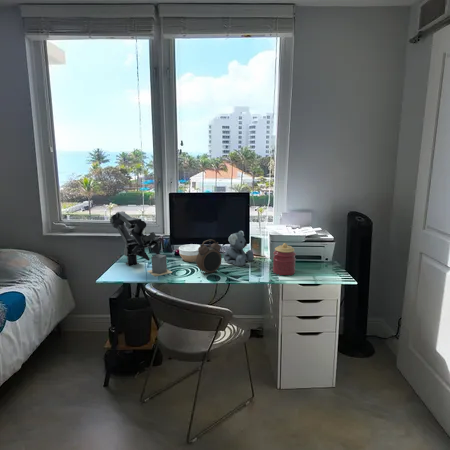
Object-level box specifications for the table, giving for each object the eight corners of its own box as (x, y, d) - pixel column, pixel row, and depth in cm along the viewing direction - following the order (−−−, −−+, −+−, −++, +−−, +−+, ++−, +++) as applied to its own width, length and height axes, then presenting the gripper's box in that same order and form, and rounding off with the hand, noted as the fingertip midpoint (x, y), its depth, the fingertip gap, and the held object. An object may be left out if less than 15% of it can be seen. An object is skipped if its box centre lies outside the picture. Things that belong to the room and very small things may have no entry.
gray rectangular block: (152, 272, 203) (151, 256, 201) (159, 269, 208) (158, 253, 206) (160, 274, 200) (159, 258, 198) (166, 271, 206) (166, 255, 203)
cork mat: (146, 271, 206) (146, 271, 206) (163, 268, 212) (163, 267, 212) (155, 277, 197) (154, 276, 197) (172, 273, 203) (172, 272, 203)
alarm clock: (202, 277, 197) (201, 243, 192) (195, 274, 202) (195, 240, 198) (223, 272, 205) (223, 239, 201) (216, 269, 211) (216, 236, 206)
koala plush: (242, 267, 213) (242, 236, 209) (217, 262, 222) (217, 232, 218) (255, 260, 227) (255, 230, 223) (231, 255, 237) (231, 227, 232)
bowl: (175, 257, 233) (175, 245, 231) (198, 254, 240) (198, 243, 238) (183, 264, 219) (183, 252, 217) (207, 261, 226) (207, 249, 224)
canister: (278, 277, 198) (279, 247, 194) (269, 269, 210) (270, 241, 206) (299, 275, 201) (300, 245, 197) (289, 267, 213) (290, 239, 209)
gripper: (135, 232, 195) (151, 254, 193) (156, 225, 211) (172, 246, 209) (125, 243, 201) (140, 265, 198) (147, 236, 217) (162, 256, 214)
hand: (154, 257), depth 205 cm, fingers open, 9 cm apart
